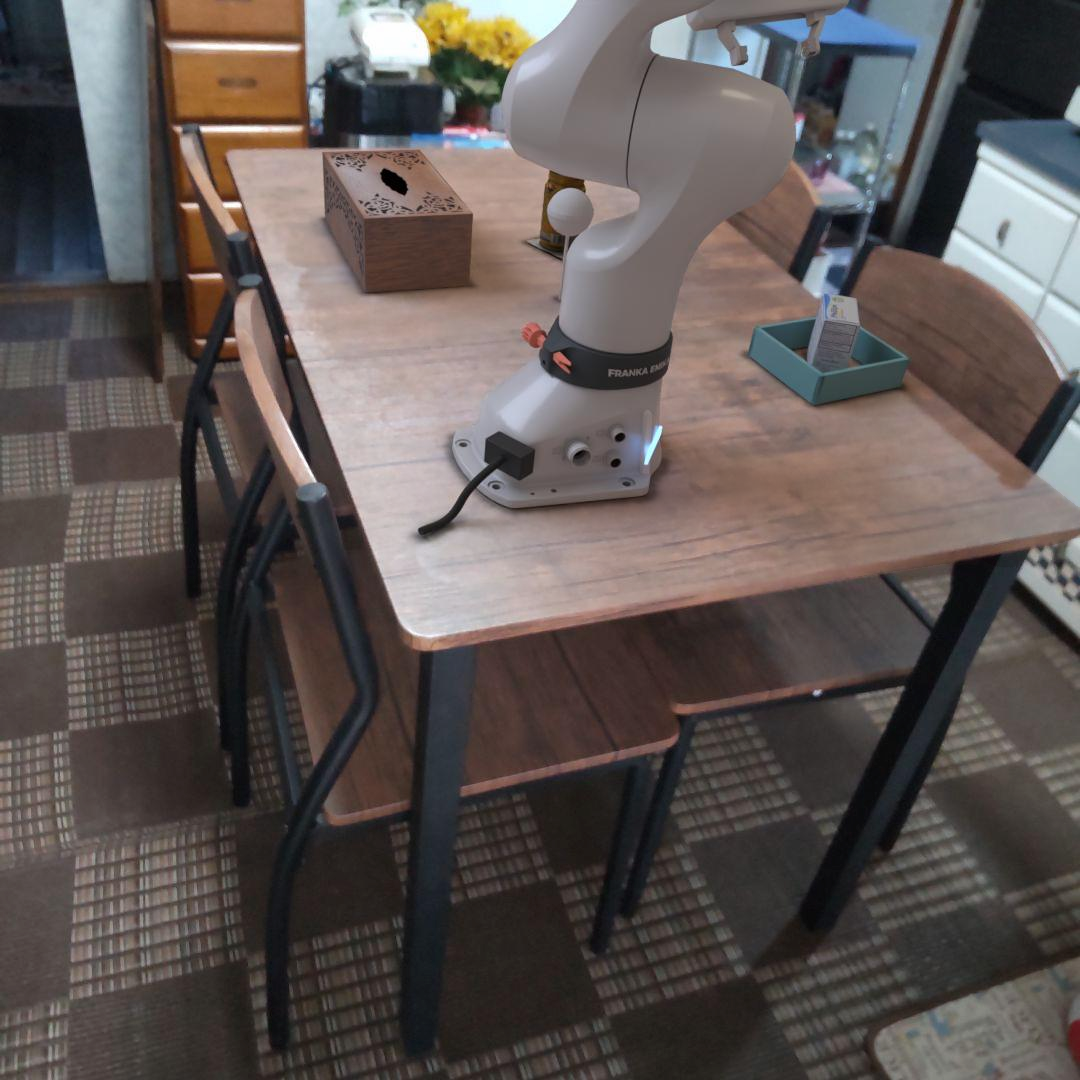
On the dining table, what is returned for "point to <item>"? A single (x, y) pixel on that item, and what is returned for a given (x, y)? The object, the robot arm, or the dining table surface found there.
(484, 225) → the dining table surface
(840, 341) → the medicine box
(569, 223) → the lollipop
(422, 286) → the tissue box cover
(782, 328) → the storage box
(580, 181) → the condiment
